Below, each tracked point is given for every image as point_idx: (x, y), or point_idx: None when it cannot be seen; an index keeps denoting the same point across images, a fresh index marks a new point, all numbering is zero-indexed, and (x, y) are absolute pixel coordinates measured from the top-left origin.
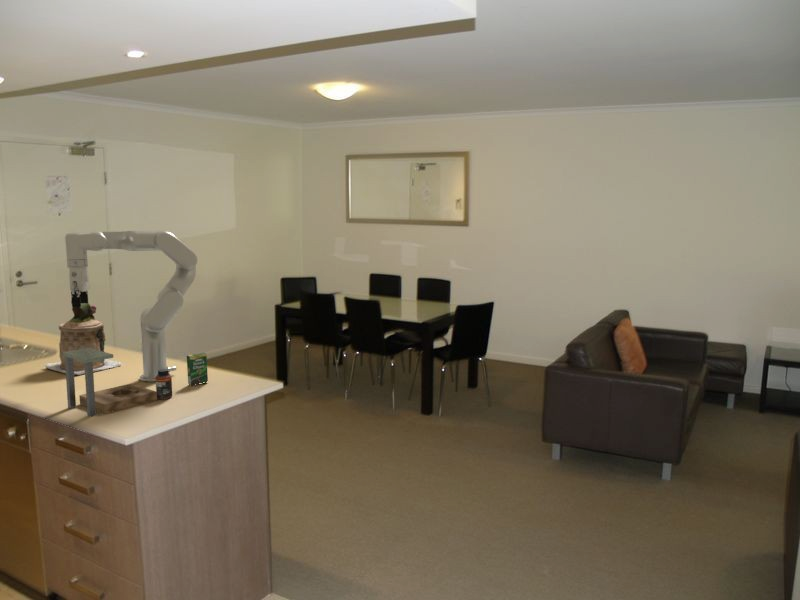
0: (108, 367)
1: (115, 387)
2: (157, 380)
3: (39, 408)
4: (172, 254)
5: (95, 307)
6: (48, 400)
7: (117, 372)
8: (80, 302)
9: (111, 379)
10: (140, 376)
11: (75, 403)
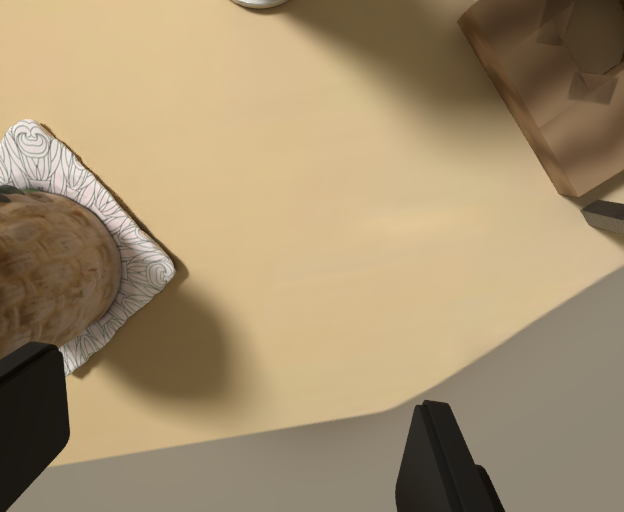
0: (73, 166)
1: (513, 70)
2: None
3: (554, 306)
4: None
5: None
6: (469, 297)
7: (138, 122)
8: (458, 453)
9: (242, 131)
10: (259, 1)
11: (609, 202)
